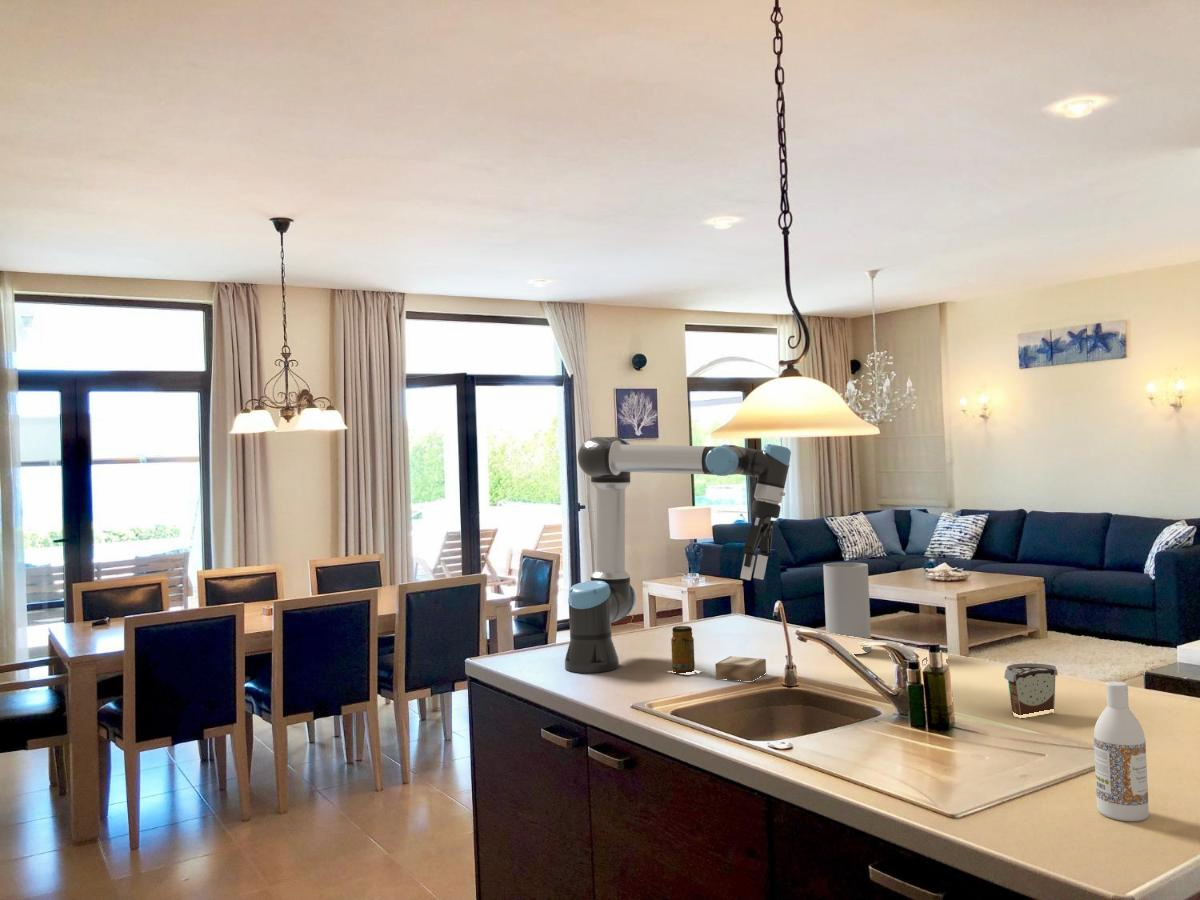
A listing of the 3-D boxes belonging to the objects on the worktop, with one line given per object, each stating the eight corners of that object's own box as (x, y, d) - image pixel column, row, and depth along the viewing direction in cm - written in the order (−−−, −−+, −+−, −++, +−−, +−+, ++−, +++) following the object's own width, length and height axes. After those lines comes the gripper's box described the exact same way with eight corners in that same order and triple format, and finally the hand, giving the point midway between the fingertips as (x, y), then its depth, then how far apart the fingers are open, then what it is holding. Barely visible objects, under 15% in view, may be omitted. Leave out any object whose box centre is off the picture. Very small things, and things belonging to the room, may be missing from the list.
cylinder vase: (823, 647, 277) (819, 563, 277) (865, 646, 276) (861, 561, 277) (831, 656, 264) (828, 568, 265) (876, 655, 264) (872, 566, 264)
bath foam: (1128, 826, 139) (1121, 691, 139) (1087, 810, 145) (1081, 681, 145) (1159, 817, 141) (1153, 685, 142) (1118, 803, 148) (1112, 676, 148)
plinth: (716, 679, 242) (715, 663, 242) (730, 671, 250) (730, 655, 250) (752, 682, 237) (751, 665, 237) (766, 674, 245) (765, 658, 245)
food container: (1036, 706, 205) (1034, 660, 206) (1059, 712, 200) (1057, 665, 200) (992, 713, 201) (990, 666, 201) (1015, 720, 195) (1013, 672, 195)
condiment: (684, 667, 257) (682, 624, 257) (706, 672, 251) (704, 627, 251) (664, 672, 253) (663, 627, 253) (687, 677, 246) (685, 631, 246)
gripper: (769, 501, 240) (753, 582, 239) (791, 507, 262) (776, 581, 262) (741, 495, 243) (725, 576, 242) (765, 502, 265) (750, 575, 265)
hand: (751, 579), depth 252 cm, fingers open, 13 cm apart
